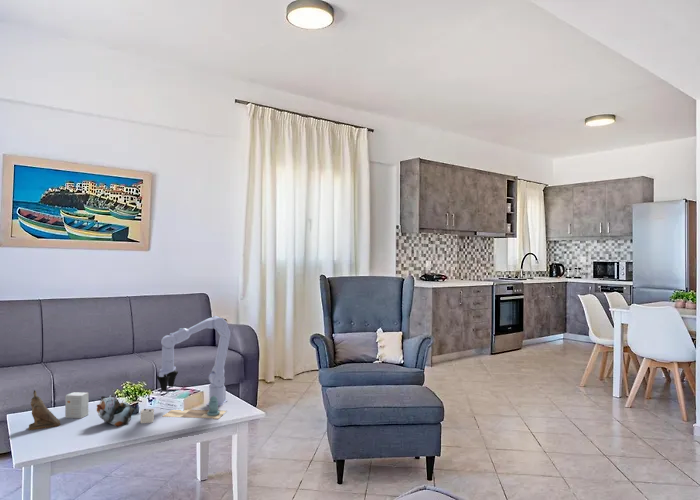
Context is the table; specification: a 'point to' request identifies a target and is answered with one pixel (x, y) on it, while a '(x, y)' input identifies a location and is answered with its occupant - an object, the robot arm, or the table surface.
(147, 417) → the cream block
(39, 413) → the brown carved statuette
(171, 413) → the game board
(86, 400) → the small box
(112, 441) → the table surface
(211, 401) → the pawn
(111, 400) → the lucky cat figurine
